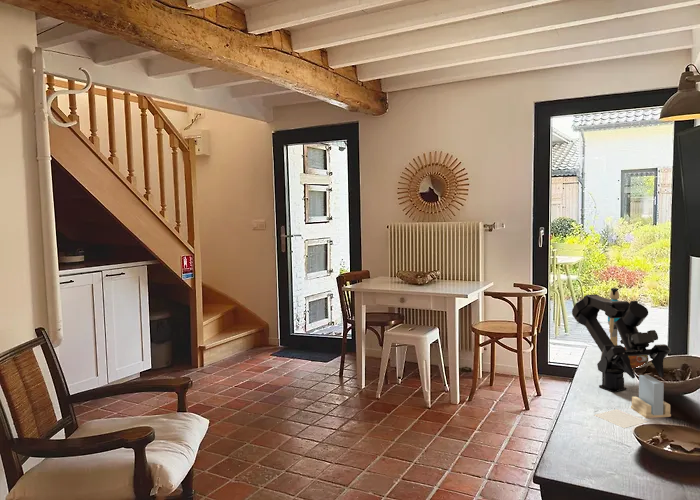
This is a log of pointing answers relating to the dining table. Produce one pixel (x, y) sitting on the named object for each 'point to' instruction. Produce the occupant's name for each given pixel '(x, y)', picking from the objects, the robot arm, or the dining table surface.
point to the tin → (637, 360)
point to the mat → (620, 418)
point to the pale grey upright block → (652, 393)
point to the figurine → (611, 321)
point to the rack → (648, 408)
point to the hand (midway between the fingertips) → (648, 377)
